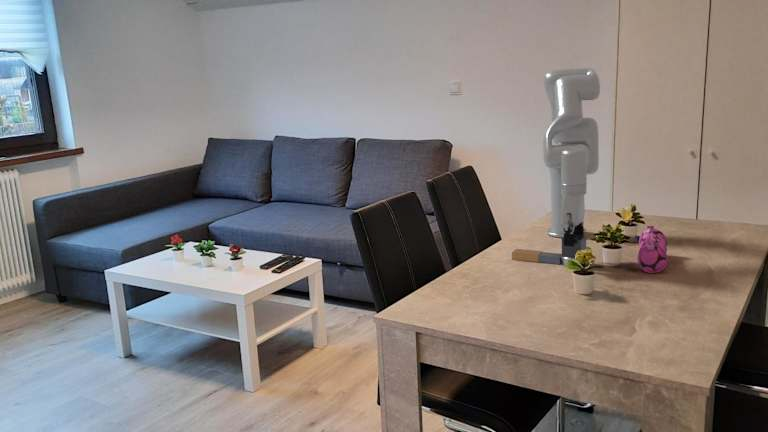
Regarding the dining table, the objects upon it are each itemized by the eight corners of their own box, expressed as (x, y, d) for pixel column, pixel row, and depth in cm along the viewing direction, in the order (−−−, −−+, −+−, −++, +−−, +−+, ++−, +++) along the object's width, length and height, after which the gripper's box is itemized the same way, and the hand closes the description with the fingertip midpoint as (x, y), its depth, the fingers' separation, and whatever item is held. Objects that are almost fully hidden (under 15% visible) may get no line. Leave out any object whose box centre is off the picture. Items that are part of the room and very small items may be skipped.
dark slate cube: (567, 251, 213) (567, 233, 211) (586, 253, 210) (586, 235, 208) (561, 256, 208) (561, 238, 206) (580, 258, 205) (580, 240, 203)
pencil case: (634, 253, 216) (634, 224, 214) (666, 254, 213) (667, 224, 211) (635, 274, 197) (636, 241, 194) (670, 275, 193) (671, 242, 191)
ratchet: (510, 261, 217) (509, 240, 215) (518, 254, 223) (518, 234, 221) (582, 268, 204) (583, 247, 203) (589, 262, 210) (589, 240, 209)
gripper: (570, 182, 213) (570, 233, 217) (552, 194, 199) (553, 248, 203) (593, 183, 209) (593, 235, 213) (577, 195, 195) (577, 250, 199)
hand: (573, 241), depth 208 cm, fingers open, 9 cm apart
